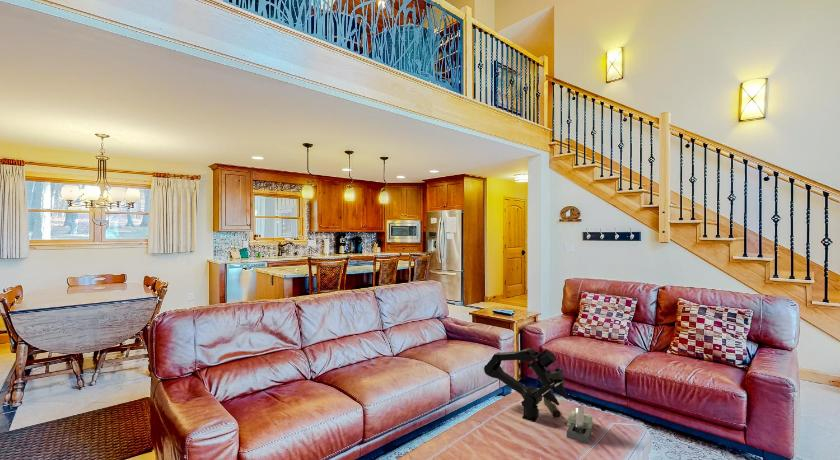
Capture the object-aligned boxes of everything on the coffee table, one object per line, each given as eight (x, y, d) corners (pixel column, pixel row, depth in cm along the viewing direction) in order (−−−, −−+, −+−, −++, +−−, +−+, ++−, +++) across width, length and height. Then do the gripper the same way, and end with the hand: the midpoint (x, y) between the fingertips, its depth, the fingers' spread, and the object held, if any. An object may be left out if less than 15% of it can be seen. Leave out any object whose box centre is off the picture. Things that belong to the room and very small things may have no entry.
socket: (566, 437, 175) (566, 430, 175) (571, 429, 182) (571, 422, 182) (587, 444, 169) (587, 437, 169) (591, 435, 177) (591, 428, 177)
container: (566, 426, 185) (566, 417, 185) (571, 417, 193) (571, 409, 193) (589, 432, 179) (589, 424, 179) (593, 423, 187) (593, 415, 187)
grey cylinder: (574, 436, 175) (574, 408, 175) (576, 433, 178) (576, 405, 178) (582, 439, 173) (582, 410, 173) (584, 435, 176) (584, 407, 176)
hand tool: (560, 418, 193) (560, 409, 193) (552, 418, 193) (552, 408, 193) (549, 401, 212) (549, 393, 212) (541, 401, 212) (542, 392, 212)
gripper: (543, 368, 178) (566, 399, 170) (561, 358, 191) (583, 387, 184) (527, 380, 184) (549, 411, 176) (545, 370, 197) (566, 398, 189)
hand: (563, 401), depth 181 cm, fingers open, 9 cm apart
